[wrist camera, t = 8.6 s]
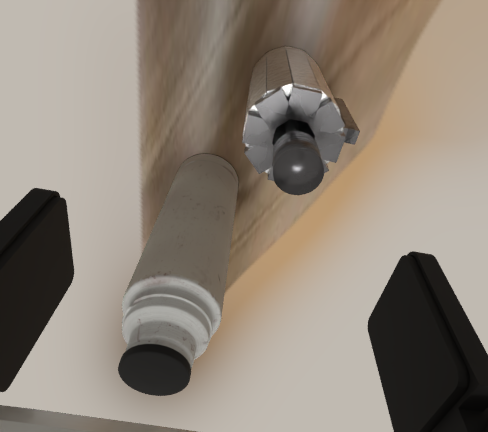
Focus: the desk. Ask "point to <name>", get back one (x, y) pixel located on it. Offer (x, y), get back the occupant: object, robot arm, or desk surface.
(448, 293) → the robot arm
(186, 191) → the thermos bottle
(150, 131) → the desk surface
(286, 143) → the plunger
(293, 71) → the press pot
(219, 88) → the desk surface
